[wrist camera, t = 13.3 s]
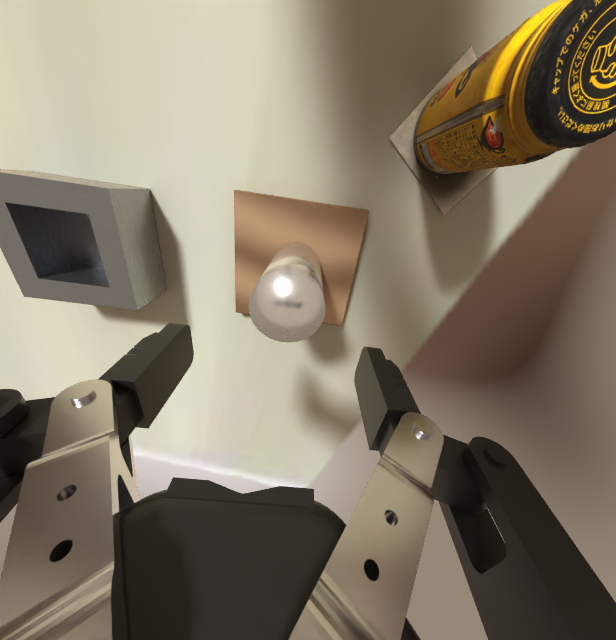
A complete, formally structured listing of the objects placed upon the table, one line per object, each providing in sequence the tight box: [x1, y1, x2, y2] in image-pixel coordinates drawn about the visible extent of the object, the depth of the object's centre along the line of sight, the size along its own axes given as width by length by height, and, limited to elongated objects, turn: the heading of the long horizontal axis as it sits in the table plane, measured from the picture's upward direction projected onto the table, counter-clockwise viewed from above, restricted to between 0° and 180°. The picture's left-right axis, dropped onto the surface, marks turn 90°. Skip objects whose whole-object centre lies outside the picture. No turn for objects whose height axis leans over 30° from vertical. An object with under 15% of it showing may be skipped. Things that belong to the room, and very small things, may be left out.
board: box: [234, 190, 369, 325], centre depth 24 cm, size 12×12×1 cm
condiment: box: [389, 0, 616, 215], centre depth 14 cm, size 7×8×12 cm
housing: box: [0, 169, 167, 310], centre depth 21 cm, size 10×10×5 cm
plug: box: [248, 242, 325, 342], centre depth 19 cm, size 5×5×10 cm
